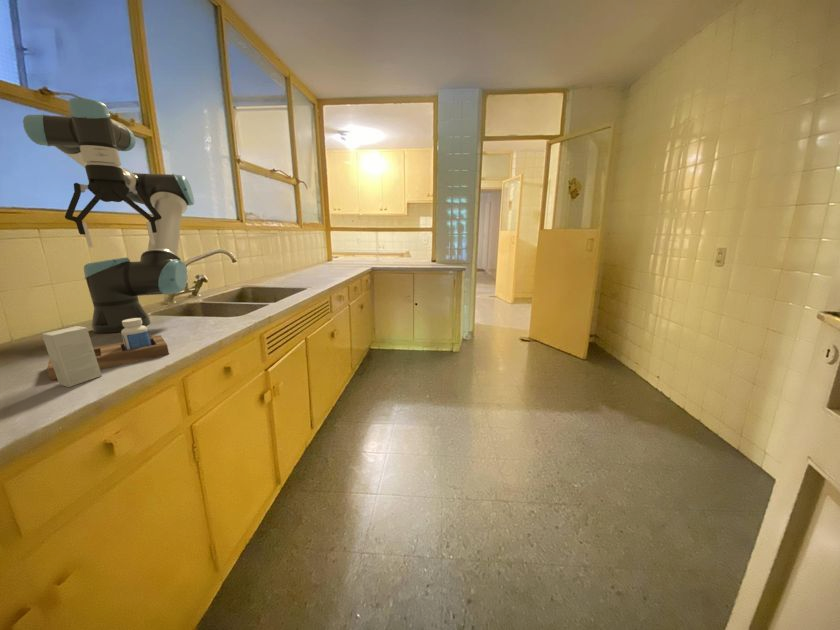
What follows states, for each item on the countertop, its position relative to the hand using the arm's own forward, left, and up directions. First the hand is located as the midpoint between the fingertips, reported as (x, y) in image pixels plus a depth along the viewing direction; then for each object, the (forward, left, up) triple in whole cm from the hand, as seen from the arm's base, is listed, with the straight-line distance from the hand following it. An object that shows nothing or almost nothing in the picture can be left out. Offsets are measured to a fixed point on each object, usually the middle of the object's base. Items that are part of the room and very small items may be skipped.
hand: (123, 245), depth 96 cm
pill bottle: (+16, -3, -29) cm, 33 cm away
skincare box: (+26, -14, -29) cm, 41 cm away
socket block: (+16, -8, -28) cm, 33 cm away
